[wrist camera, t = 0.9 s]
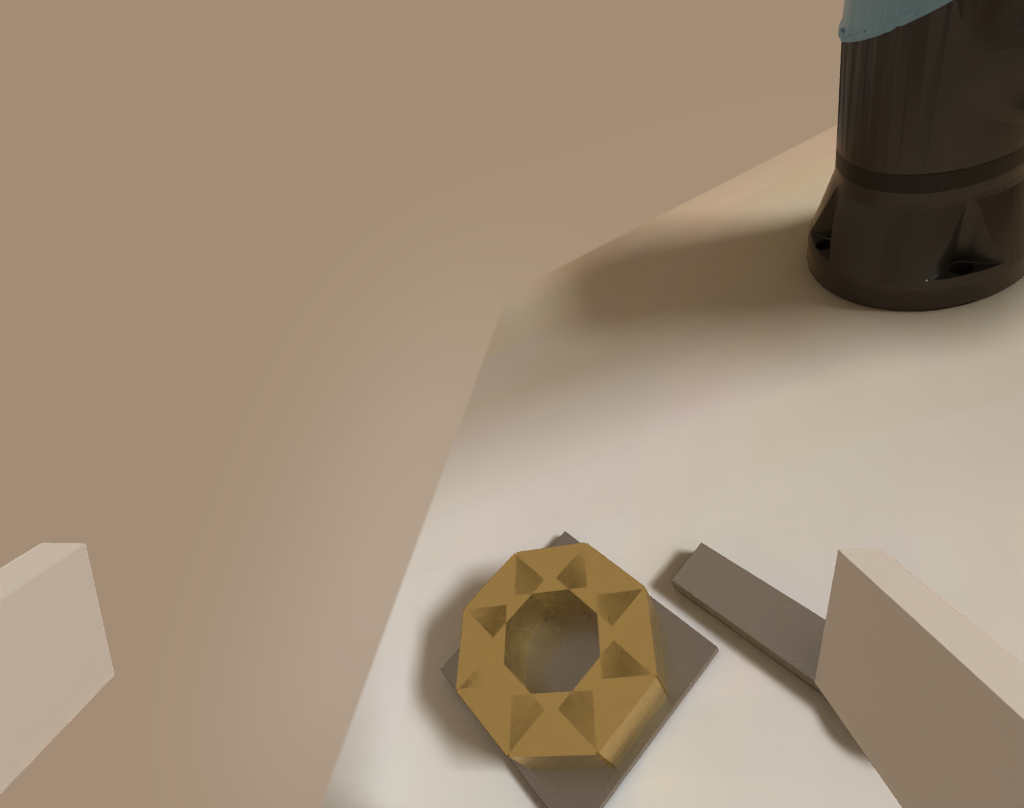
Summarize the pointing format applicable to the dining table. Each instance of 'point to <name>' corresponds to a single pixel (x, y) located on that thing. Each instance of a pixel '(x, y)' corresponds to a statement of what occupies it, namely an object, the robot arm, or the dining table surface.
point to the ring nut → (573, 669)
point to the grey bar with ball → (754, 610)
